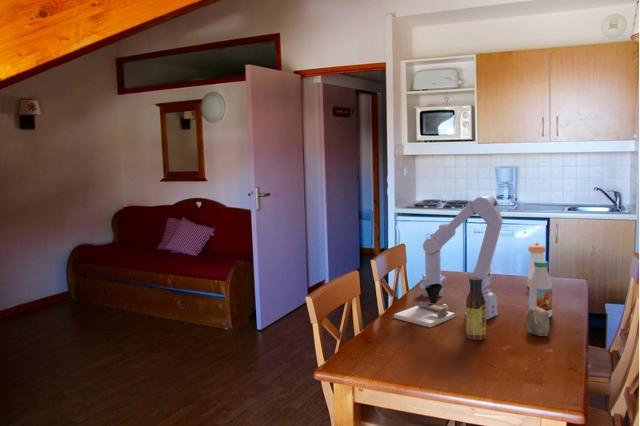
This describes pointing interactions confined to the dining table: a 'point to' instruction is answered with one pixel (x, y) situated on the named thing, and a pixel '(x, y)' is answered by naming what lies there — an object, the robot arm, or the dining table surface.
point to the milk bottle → (541, 288)
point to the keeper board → (425, 315)
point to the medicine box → (426, 291)
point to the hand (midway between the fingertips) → (433, 303)
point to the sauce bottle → (475, 310)
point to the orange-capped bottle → (535, 258)
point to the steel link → (426, 305)
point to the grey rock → (538, 321)
